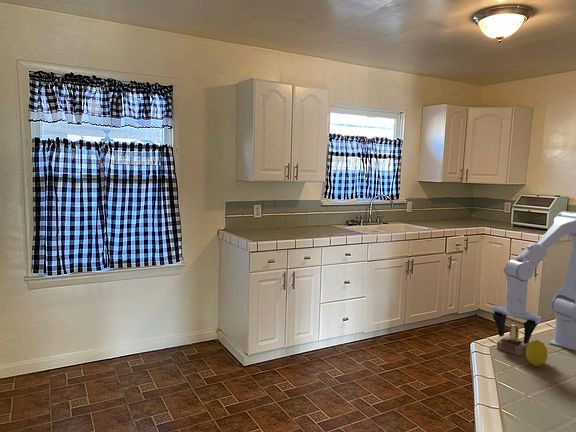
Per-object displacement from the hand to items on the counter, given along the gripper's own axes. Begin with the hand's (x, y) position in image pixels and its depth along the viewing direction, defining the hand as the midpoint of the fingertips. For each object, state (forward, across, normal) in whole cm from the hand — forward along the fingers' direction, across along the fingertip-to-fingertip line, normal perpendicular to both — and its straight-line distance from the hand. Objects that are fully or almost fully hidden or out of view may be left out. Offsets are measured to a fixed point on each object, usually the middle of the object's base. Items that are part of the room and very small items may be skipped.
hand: (513, 339), depth 140 cm
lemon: (+4, +10, -8) cm, 13 cm away
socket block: (+3, 0, 0) cm, 3 cm away
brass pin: (+3, 0, 0) cm, 3 cm away
